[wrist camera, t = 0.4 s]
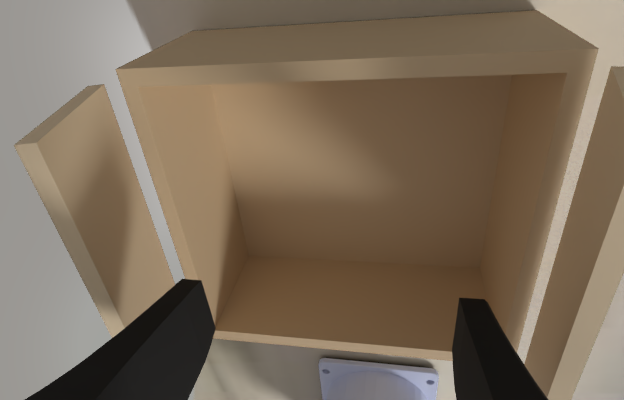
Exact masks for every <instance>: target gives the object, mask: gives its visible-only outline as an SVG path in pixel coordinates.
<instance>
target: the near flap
mask: <svg viewBox="0 0 624 400" xmlns="http://www.w3.org/2000/svg"><path fill="white" fill-rule="evenodd" d="M623 273H624V67H613V66H611V69H610V72H609V76H608V79H607V83H606V86H605V89H604V93H603V96H602V100H601V103H600V107H599V110H598V113H597V117H596V120H595V124H594V127H593V131H592V134H591V137H590V141H589V144H588V148H587V151H586V155H585V158H584V162H583V165H582V168H581V172H580V175H579V179H578V182H577V186H576V189H575V192H574V196H573V199H572V203H571V206H570V210H569V213H568V217H567V220H566V223H565V227H564V230H563V234H562V237H561V241H560V244H559V247H558V251H557V254H556V258H555V261H554V265H553V268H552V271H551V275H550V278H549V282H548V285H547V289H546V292H545V296H544V299H543V302H542V306H541V309H540V313H539V316H538V320H537V323H536V326H535V330H534V333H533V337H532V340H531V344H530V347H529V351H528V354H527V357H526V361H525V364H524V365H525V367H526V368H527V370H528V371H529V373H530V374H531V376H532V377H533V379H534V380H535V382H536V383H537V384H538V386H539V387H540V389H541V390H542V392H543V393H544V394H545V396H546V397H547V398H548V400H571V399H572V396H573V394H574V391H575V389H576V387H577V384H578V382H579V379H580V377H581V374H582V372H583V370H584V367H585V365H586V362H587V360H588V358H589V355H590V353H591V350H592V348H593V345H594V343H595V341H596V338H597V336H598V333H599V331H600V329H601V326H602V324H603V321H604V319H605V316H606V314H607V312H608V309H609V307H610V304H611V302H612V300H613V297H614V295H615V292H616V290H617V288H618V285H619V283H620V280H621V278H622V275H623Z"/></svg>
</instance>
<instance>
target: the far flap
mask: <svg viewBox="0 0 624 400" xmlns="http://www.w3.org/2000/svg"><path fill="white" fill-rule="evenodd" d="M14 147H15V149H16V151H17V153H18V155H19V156H20V158H21V160H22V162H23V164H24V166H25V168H26V170H27V172H28V174H29V176H30V178H31V180H32V182H33V184H34V186H35V188H36V190H37V192H38V193H39V195H40V198H41V199H42V201H43V203H44V205H45V207H46V209H47V211H48V213H49V215H50V217H51V219H52V221H53V223H54V225H55V227H56V229H57V231H58V233H59V235H60V237H61V239H62V241H63V243H64V244H65V246H66V248H67V250H68V252H69V254H70V256H71V258H72V260H73V262H74V264H75V266H76V268H77V270H78V272H79V274H80V276H81V278H82V280H83V282H84V284H85V286H86V288H87V290H88V292H89V293H90V295H91V297H92V299H93V301H94V303H95V305H96V307H97V309H98V311H99V313H100V315H101V317H102V319H103V321H104V323H105V325H106V326H107V329H108V331H109V333H110V335H111V336H112V338H113V337H114V336H116V335H117V334H118V333H119V332H121V331H122V330H123V329H124V328H125V327H127V326H128V325H129V324H130V323H131V322H133V321H134V320H135V319H136V318H137V317H138V316H140V315H141V314H142V313H143V312H144V311H146V310H147V309H148V308H149V307H150V306H151V305H153V304H154V303H155V302H156V301H157V300H158V299H159V298H161V297H162V296H163V295H164V294H165V293H166V292H167V291H169V290H170V289H171V288H172V287H173V286H175V283H174V280H173V277H172V275H171V272H170V269H169V266H168V263H167V261H166V258H165V255H164V252H163V249H162V246H161V244H160V241H159V238H158V235H157V232H156V230H155V227H154V224H153V221H152V218H151V215H150V213H149V210H148V207H147V204H146V202H145V199H144V196H143V193H142V190H141V187H140V184H139V182H138V179H137V176H136V173H135V171H134V168H133V165H132V162H131V159H130V156H129V154H128V151H127V148H126V145H125V142H124V139H123V137H122V134H121V131H120V128H119V125H118V123H117V120H116V117H115V114H114V111H113V109H112V106H111V103H110V100H109V97H108V94H107V92H106V89H105V86H104V84H103V85H94V86H87V87H86V88H85V89H84V90H83V91H81V92H80V93H79V94H77V96H75V97H74V98H72V99H71V100H70V101H69V102H67V103H66V104H65V105H64V106H62V107H61V108H60V109H59V110H57V111H56V112H55V113H54V114H52V115H51V116H50V117H49V118H47V119H46V120H45V121H44V122H42V123H41V124H40V125H39V126H37V127H36V128H35V129H34V130H33V131H31V132H30V133H29V134H28V135H26V136H25V137H24V138H22V139H21V140H20V141H19V142H17V143H16V144H15V145H14Z"/></svg>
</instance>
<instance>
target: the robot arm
mask: <svg viewBox="0 0 624 400" xmlns="http://www.w3.org/2000/svg"><path fill="white" fill-rule="evenodd" d="M215 329H216V327H215V324H214V320H213V317H212V314H211V310H210V307H209V304H208V300H207V297H206V294H205V290H204V287H203V284H202V280H190V279H182V280H181V281H179V282H178V283H177V284H176V285H175V286H173V287H172V288H171V289H170V290H169V291H167V292H166V293H165V294H164V295H163V296H162V297H161V298H159V299H158V300H157V301H156V302H155V303H154V304H153V305H151V306H150V307H149V308H148V309H147V310H146V311H144V312H143V313H142V314H141V315H140V316H138V317H137V318H136V319H135V320H134V321H133V322H131V323H130V324H129V325H128V326H127V327H125V328H124V329H123V330H122V331H121V332H119V333H118V334H117V335H116V336H114V337H113V338H112V339H111V340H109V341H108V342H107V343H105V344H104V345H103V346H102V347H100V348H99V349H98V350H97V351H95V352H94V353H93V354H92V355H90V356H89V357H88V358H86V359H85V360H84V361H82V362H81V363H80V364H78V365H77V366H75V367H74V368H72V369H71V370H70V371H68V372H67V373H65V374H64V375H62V376H61V377H59V378H58V379H57V380H55V381H54V382H52V383H51V384H49V385H48V386H46V387H44V388H43V389H41V390H40V391H38V392H37V393H35V394H33V395H32V396H30V397H28V398H27V399H25V400H188V398H189V395H190V393H191V391H192V389H193V387H194V385H195V383H196V380H197V378H198V376H199V374H200V372H201V370H202V367H203V365H204V363H205V360H206V358H207V355H208V352H209V349H210V346H211V342H212V339H213V336H214V333H215ZM452 358H453V372H454V385H455V393H456V398H457V400H548V398H547V397H546V396H545V394H544V393H543V392H542V390H541V389H540V387H539V386H538V384H537V383H536V382H535V380H534V379H533V377H532V376H531V374H530V373H529V371H528V370H527V368H526V367H525V365H524V364H523V362H522V361H521V359H520V358H519V356H518V354H517V353H516V351H515V350H514V348H513V346H512V345H511V343H510V341H509V340H508V338H507V336H506V335H505V333H504V331H503V330H502V328H501V326H500V324H499V323H498V321H497V319H496V317H495V315H494V313H493V312H492V310H491V308H490V306H489V304H488V302H487V301H486V300H485V299H474V298H459V303H458V310H457V317H456V324H455V332H454V339H453V346H452ZM318 367H319V375H320V383H321V391H322V399H323V400H436V395H437V387H438V379H439V377H438V372H437V371H436V370H435V369H432V368H424V367H413V366H403V365H393V364H383V363H373V362H362V361H352V360H342V359H332V358H322V359H320V360H319V365H318Z"/></svg>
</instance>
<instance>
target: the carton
mask: <svg viewBox="0 0 624 400" xmlns="http://www.w3.org/2000/svg"><path fill="white" fill-rule="evenodd" d="M598 49H599V48H597V47H595V46H594V45H592V44H591V43H589V42H587V41H586V40H584V39H582V38H581V37H579V36H578V35H576V34H574V33H573V32H571V31H570V30H568V29H566V28H565V27H563V26H561V25H560V24H558V23H557V22H555V21H553V20H552V19H550V18H549V17H547V16H545V15H544V14H542V13H541V12H539V11H537V10H531V11H514V12H498V13H481V14H465V15H448V16H432V17H415V18H399V19H382V20H366V21H349V22H333V23H316V24H300V25H283V26H267V27H250V28H234V29H217V30H201V31H191V32H189V33H187V34H185V35H183V36H181V37H179V38H177V39H175V40H173V41H171V42H169V43H167V44H165V45H163V46H161V47H159V48H157V49H155V50H153V51H151V52H149V53H147V54H145V55H143V56H141V57H139V58H137V59H135V60H133V61H131V62H129V63H127V64H125V65H123V66H121V67H119V68H117V69H116V72H117V75H118V78H119V81H120V84H121V87H122V90H123V93H124V96H125V99H126V102H127V105H128V108H129V111H130V114H131V117H132V120H133V123H134V126H135V129H136V132H137V135H138V138H139V141H140V144H141V147H142V150H143V153H144V156H145V159H146V162H147V165H148V168H149V171H150V174H151V177H152V180H153V183H154V186H155V189H156V192H157V195H158V198H159V201H160V204H161V207H162V210H163V213H164V216H165V219H166V222H167V225H168V228H169V231H170V234H171V237H172V240H173V243H174V246H175V249H176V252H177V255H178V258H179V261H180V264H181V267H182V270H183V273H184V276H185V279H190V280H202V284H203V287H204V290H205V294H206V297H207V300H208V304H209V307H210V310H211V314H212V317H213V320H214V324H215V327H216V329H215V333H214V336H213V338H214V339H225V340H235V341H246V342H257V343H267V344H278V345H288V346H299V347H310V348H320V349H331V350H342V351H352V352H363V353H374V354H384V355H395V356H405V357H416V358H427V359H437V360H448V361H453V358H452V346H453V339H454V332H455V324H456V317H457V310H458V303H459V298H474V299H485V300H486V301H487V302H488V304H489V306H490V308H491V310H492V312H493V313H494V315H495V317H496V319H497V321H498V323H499V324H500V326H501V328H502V330H503V331H504V333H505V335H506V336H507V338H508V340H509V341H510V343H511V345H512V346H513V348H514V350H515V351H516V353H517V350H518V346H519V343H520V339H521V335H522V331H523V328H524V324H525V320H526V317H527V313H528V309H529V305H530V302H531V298H532V294H533V291H534V287H535V283H536V279H537V276H538V272H539V268H540V265H541V261H542V257H543V253H544V250H545V246H546V242H547V239H548V235H549V231H550V227H551V224H552V220H553V216H554V213H555V209H556V205H557V201H558V198H559V194H560V190H561V187H562V183H563V179H564V175H565V172H566V168H567V164H568V161H569V157H570V153H571V149H572V146H573V142H574V138H575V135H576V131H577V127H578V123H579V120H580V116H581V112H582V109H583V105H584V101H585V97H586V94H587V90H588V86H589V83H590V79H591V75H592V71H593V68H594V64H595V60H596V57H597V53H598Z"/></svg>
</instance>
